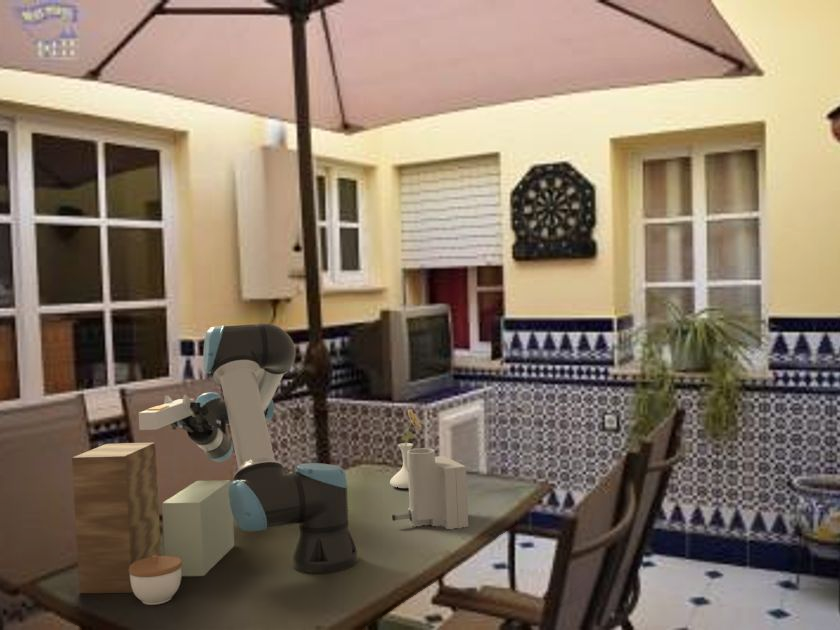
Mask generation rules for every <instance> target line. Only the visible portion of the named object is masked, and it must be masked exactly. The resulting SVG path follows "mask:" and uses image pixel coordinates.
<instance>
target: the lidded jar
mask: <svg viewBox="0 0 840 630" xmlns="http://www.w3.org/2000/svg"><path fill="white" fill-rule="evenodd" d="M181 566H182V560H181V559H180V558H179V557H175V556H165V555H161V556H158V555H154V556H153V557H149V558H144V559H141V560H138V561H136V562H134V563H132V564H131V565H130V566H129V573H130V583H131V587H132V590H133V592H132V593H133V594H134V596H135V597H136V598H138V600H140V601H141V603H142V604H143V605H147V606H154V605H155V606H156V605H160V604H164V603H167V602H169V601H171V600H172V599H173V596H175V594H176V592H178V590H179V588H180V585H181V581H182V576H181V574H182V572H181Z"/></svg>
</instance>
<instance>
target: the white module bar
mask: <svg viewBox="0 0 840 630" xmlns="http://www.w3.org/2000/svg"><path fill="white" fill-rule="evenodd" d="M190 399H191V401H192V402H195V398H190ZM182 402H183V398H178V399H175V400H173V401H172V402H169V403H166V404H164V403H163V404H160V405H156V406H152V407H149V408H147V409H145V410H143V411H139V412H138V430H139V431H153V430H154V431H155V430H160V429H161V428H164V427H166V426H168V425H171V423H174V422H176V421H179V420H181V419H184V418H186V417H189V416H194V414H190V413H189V412H188V411H187V410H186V409H185V407H184V406H183V405H182Z"/></svg>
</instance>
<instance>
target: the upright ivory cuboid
mask: <svg viewBox="0 0 840 630" xmlns="http://www.w3.org/2000/svg"><path fill="white" fill-rule="evenodd" d="M231 482H232V479H225V480H224V479H223V480H222V479H219V480H216V479H215V480H196V481H194V482H193V483H191V484H189V485H188V486H186V487H184V489H182V490H181V491H178V492H177V493H176V494H174V495H173V496H171V497H170V498H168V499H166V500H164V501H163V502H162V503H161V509H162V512H161V513H162V525H163V526H162V529H163V531H162V532H163V543H164V544H163V546H164V556H175V557H179V558H180V559H181V560H182V566H181V572H182V574H181V577H204V576H205V575H207V574H208V573H209V571H210V570H211V569H212V568H214V566H216V565H217V563H218V562H219V561H220V560H222V559H223V558H224V556H226V554H228V553H229V552H230V551H231V550H233V548H234V547H235V537H234V536H235V535H234V534H235V533H234V516H233V513H232V510H231V506H230V499H229V485H230V483H231Z"/></svg>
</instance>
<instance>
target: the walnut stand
mask: <svg viewBox="0 0 840 630" xmlns="http://www.w3.org/2000/svg"><path fill="white" fill-rule="evenodd" d="M156 451H157V450H156V442H130V443H129V442H125V443H119V442H118V443H105V444H103V445H100V446H98V447H96V448H92V449H90V450H88V451H85V452H83V453H80V454H78V455H77V454H76V455H75V456H73V457H71V462H72V463H71V465H72V485H73V498H74V499H73V502H74V516H75V534H76V536H75V537H76V538H75V539H76V552H77V553H76V555H77V556H76V557H77V569H78V570H77V571H78V572H77V573H78V574H77V575H78V590H79V591H78V592H79V594H110V593H111V594H112V593H113V594H114V593H116V594H119V593H120V594H123V593H125V594H126V593H128V594H129V593H130V594H132V593H134V592H133V590H132V587H131V583H130V573H129V566H130V565H131V564H132V563H134V562H136V561H138V560H141V559H144V558H149V557H153V556H154V555H158V556H162V547H161V530H160V527H161V526H160V511H159V510H160V508H159V492H158V491H159V490H158V471H157V452H156Z"/></svg>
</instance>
